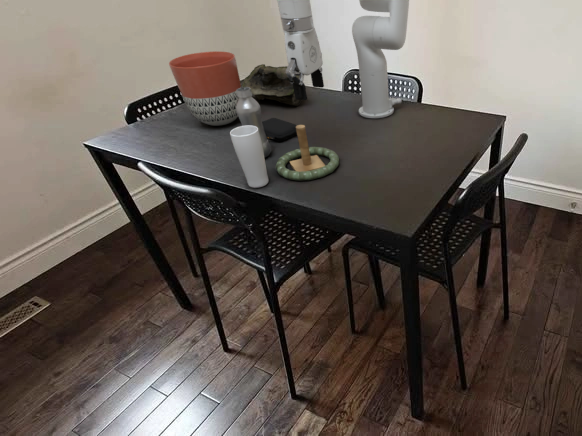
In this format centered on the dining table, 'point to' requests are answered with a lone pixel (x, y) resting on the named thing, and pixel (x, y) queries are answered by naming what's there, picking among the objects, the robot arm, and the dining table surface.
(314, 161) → the coat peg
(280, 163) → the hoop
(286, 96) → the hollow geode rock
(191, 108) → the planter
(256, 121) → the plastic bottle
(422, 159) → the dining table surface
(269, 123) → the carrying case
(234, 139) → the drinking glass
